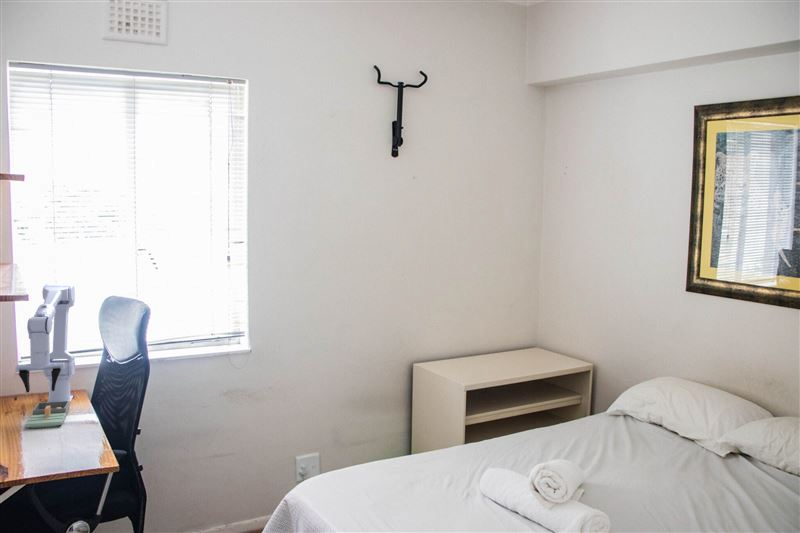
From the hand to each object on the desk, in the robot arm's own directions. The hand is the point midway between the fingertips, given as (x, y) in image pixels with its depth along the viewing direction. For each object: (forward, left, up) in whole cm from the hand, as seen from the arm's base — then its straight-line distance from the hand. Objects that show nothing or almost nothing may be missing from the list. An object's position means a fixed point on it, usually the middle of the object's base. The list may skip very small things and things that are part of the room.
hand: (40, 391), depth 224 cm
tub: (-4, +3, -10) cm, 11 cm away
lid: (+7, +3, -10) cm, 12 cm away
